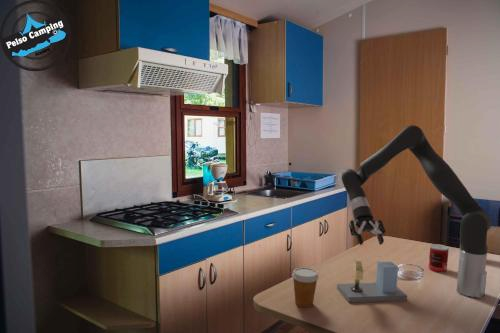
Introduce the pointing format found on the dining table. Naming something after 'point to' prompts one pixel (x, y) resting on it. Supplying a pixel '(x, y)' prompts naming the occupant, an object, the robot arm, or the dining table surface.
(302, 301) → the disposable coffee cup
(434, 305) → the dining table surface
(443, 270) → the canned food
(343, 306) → the dining table surface
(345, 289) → the plate
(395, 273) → the light blue block
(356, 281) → the golden lever handle
